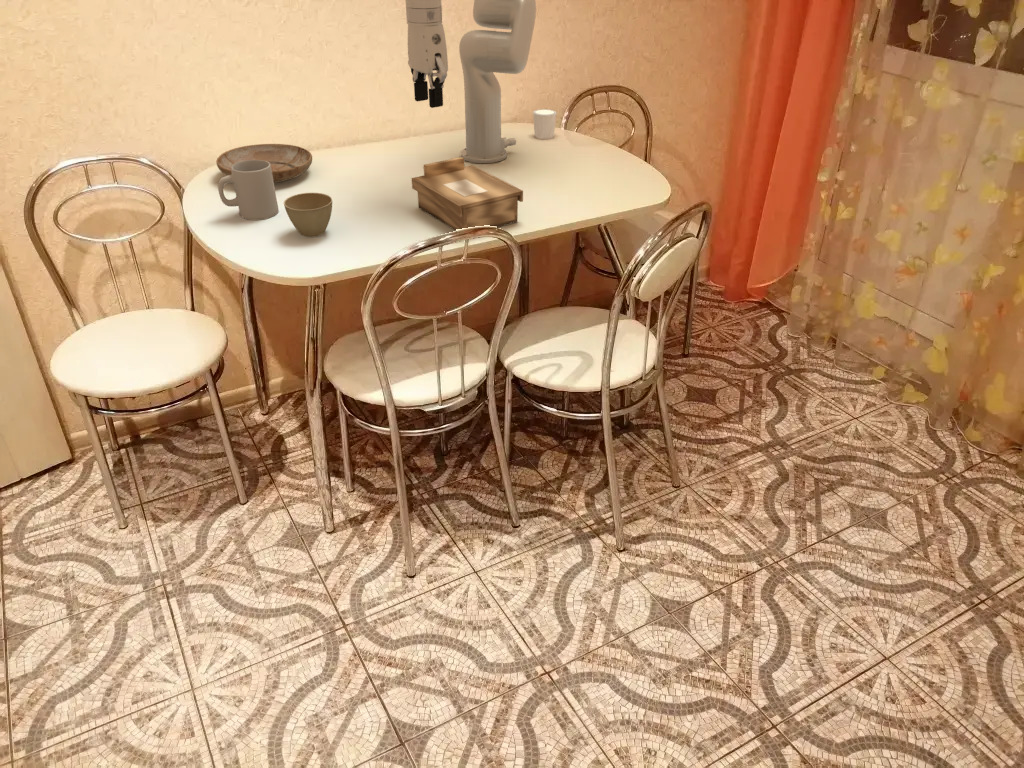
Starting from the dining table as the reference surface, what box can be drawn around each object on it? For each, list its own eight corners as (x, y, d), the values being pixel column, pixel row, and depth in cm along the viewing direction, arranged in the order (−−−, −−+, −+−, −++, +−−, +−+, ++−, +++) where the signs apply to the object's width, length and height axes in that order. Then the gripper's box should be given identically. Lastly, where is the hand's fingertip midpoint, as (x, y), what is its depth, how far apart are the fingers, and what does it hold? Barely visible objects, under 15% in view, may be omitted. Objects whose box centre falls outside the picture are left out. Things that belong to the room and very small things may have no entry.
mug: (273, 203, 181) (265, 157, 174) (282, 216, 174) (274, 168, 168) (221, 212, 176) (210, 165, 170) (228, 225, 170) (218, 176, 163)
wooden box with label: (472, 175, 184) (471, 154, 181) (522, 201, 170) (523, 179, 167) (412, 188, 176) (410, 166, 173) (459, 217, 162) (459, 194, 159)
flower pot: (279, 237, 164) (273, 205, 160) (307, 220, 172) (303, 189, 168) (318, 245, 161) (313, 212, 157) (345, 228, 169) (341, 196, 165)
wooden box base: (469, 195, 186) (469, 170, 182) (517, 222, 172) (517, 196, 169) (418, 207, 179) (416, 182, 176) (464, 236, 165) (463, 209, 162)
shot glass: (530, 139, 224) (531, 114, 220) (534, 132, 229) (534, 108, 226) (554, 140, 223) (555, 115, 219) (557, 133, 229) (558, 109, 225)
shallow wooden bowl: (235, 198, 184) (230, 178, 181) (209, 170, 200) (205, 151, 197) (327, 181, 194) (325, 161, 191) (296, 156, 210) (293, 137, 208)
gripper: (460, 19, 160) (463, 109, 170) (419, 8, 171) (424, 93, 181) (428, 23, 156) (433, 114, 166) (389, 11, 168) (396, 97, 178)
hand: (428, 102), depth 174 cm, fingers open, 5 cm apart
